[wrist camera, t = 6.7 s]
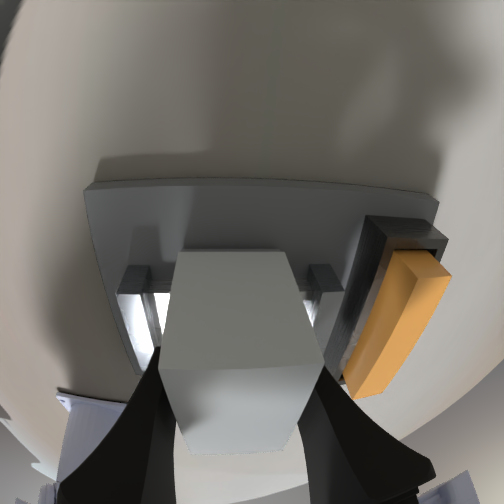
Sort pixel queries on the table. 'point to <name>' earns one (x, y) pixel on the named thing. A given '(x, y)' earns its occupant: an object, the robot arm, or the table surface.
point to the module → (237, 351)
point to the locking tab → (395, 320)
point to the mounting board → (233, 223)
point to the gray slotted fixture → (311, 289)
